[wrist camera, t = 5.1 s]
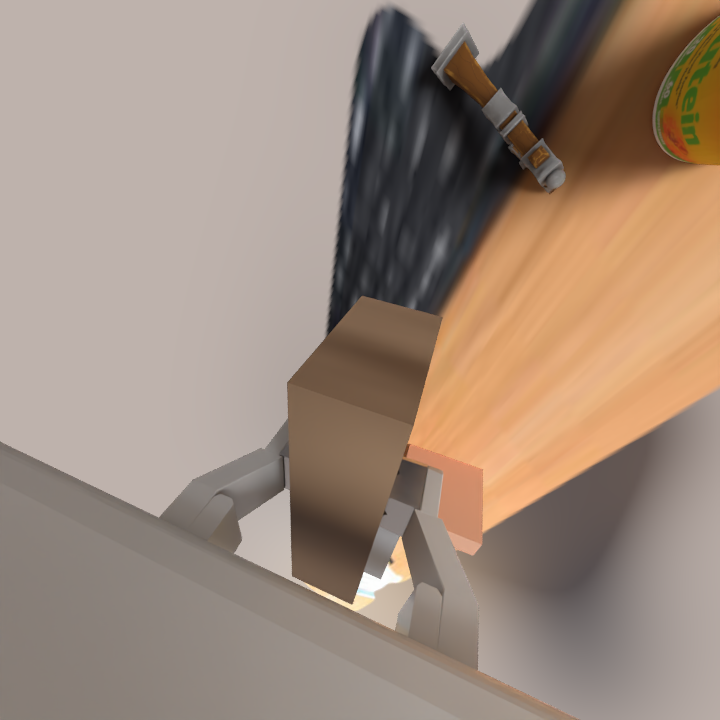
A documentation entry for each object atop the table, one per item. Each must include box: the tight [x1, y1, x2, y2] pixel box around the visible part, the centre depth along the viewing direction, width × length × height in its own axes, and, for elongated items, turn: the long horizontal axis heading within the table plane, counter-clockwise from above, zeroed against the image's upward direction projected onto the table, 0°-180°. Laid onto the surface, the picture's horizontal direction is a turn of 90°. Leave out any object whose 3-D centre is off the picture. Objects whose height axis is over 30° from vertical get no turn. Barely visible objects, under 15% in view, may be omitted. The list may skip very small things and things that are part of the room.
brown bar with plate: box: [287, 296, 442, 604], centre depth 12 cm, size 17×5×4 cm, turn 172°
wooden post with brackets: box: [431, 23, 566, 194], centre depth 14 cm, size 2×8×4 cm, turn 49°
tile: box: [406, 444, 483, 555], centre depth 27 cm, size 2×7×7 cm, turn 83°
